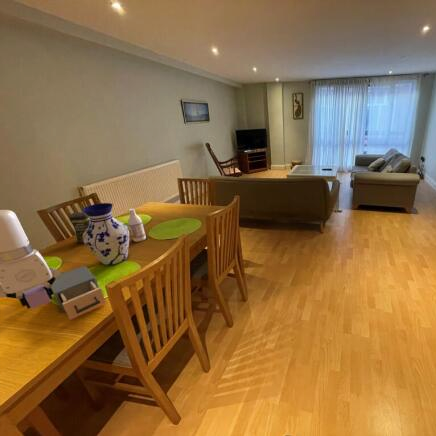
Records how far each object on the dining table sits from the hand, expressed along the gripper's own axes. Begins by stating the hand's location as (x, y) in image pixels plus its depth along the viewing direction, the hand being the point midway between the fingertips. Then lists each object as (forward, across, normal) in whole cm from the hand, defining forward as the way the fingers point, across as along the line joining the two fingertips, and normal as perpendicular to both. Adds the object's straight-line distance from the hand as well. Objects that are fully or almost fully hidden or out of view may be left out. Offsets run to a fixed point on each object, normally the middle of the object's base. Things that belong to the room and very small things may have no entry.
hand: (39, 301), depth 76 cm
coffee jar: (+16, +26, +80) cm, 86 cm away
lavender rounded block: (0, 0, 0) cm, 0 cm away
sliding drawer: (+15, +10, +9) cm, 20 cm away
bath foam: (+16, +47, +57) cm, 75 cm away
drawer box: (+16, +10, +21) cm, 28 cm away
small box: (+16, -1, +35) cm, 38 cm away
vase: (+16, +29, +41) cm, 53 cm away
